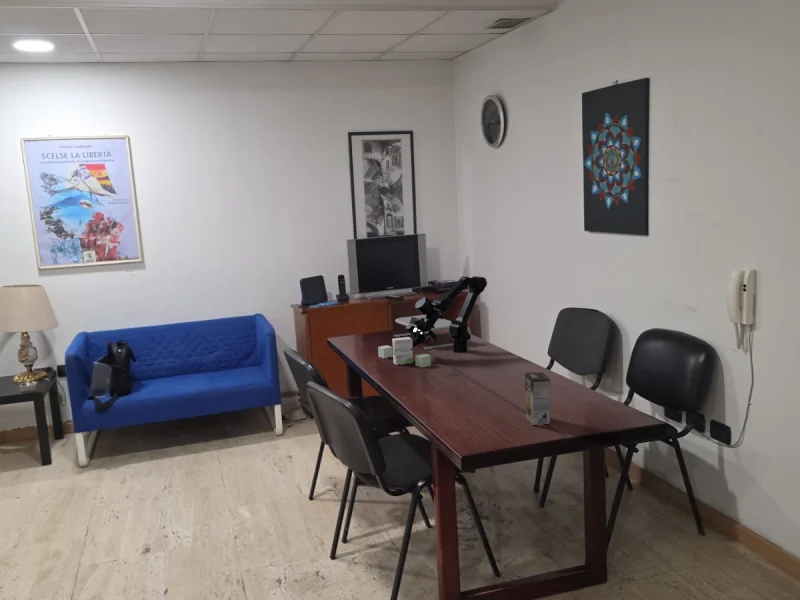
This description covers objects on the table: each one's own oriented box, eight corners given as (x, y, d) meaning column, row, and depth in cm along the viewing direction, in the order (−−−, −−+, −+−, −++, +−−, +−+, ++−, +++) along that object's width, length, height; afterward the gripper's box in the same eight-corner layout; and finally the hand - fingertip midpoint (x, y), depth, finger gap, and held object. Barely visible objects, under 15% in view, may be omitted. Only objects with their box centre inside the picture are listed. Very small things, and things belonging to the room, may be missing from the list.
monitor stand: (392, 337, 382) (391, 318, 381) (437, 331, 394) (437, 313, 392) (423, 350, 349) (423, 329, 348) (471, 343, 361) (471, 323, 359)
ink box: (410, 360, 329) (409, 336, 327) (413, 363, 324) (412, 338, 322) (392, 362, 326) (392, 338, 325) (395, 365, 322) (394, 340, 320)
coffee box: (524, 417, 243) (524, 372, 241) (543, 416, 244) (542, 371, 241) (532, 426, 234) (531, 379, 232) (550, 425, 235) (550, 378, 232)
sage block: (424, 364, 322) (424, 353, 322) (430, 366, 318) (430, 355, 317) (415, 365, 320) (415, 355, 319) (422, 367, 316) (421, 357, 315)
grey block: (387, 355, 342) (386, 345, 341) (392, 357, 338) (392, 347, 337) (378, 356, 339) (378, 346, 338) (384, 358, 335) (383, 348, 334)
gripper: (408, 308, 335) (389, 333, 330) (431, 313, 319) (412, 340, 315) (421, 322, 340) (403, 347, 336) (445, 327, 325) (426, 354, 320)
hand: (411, 347), depth 327 cm, fingers closed
